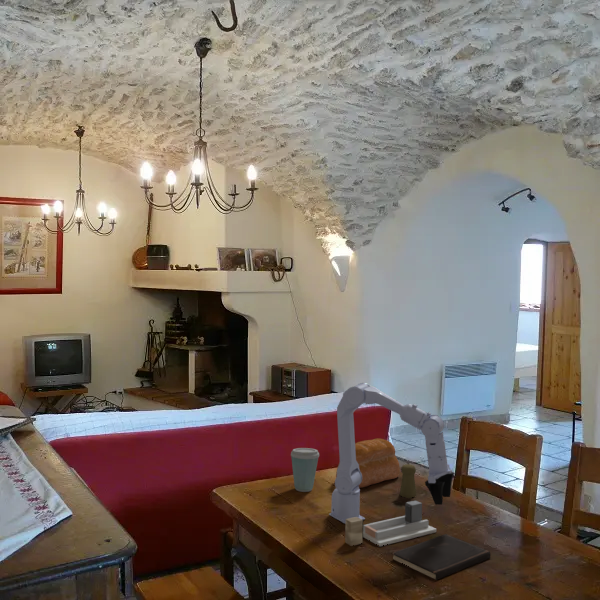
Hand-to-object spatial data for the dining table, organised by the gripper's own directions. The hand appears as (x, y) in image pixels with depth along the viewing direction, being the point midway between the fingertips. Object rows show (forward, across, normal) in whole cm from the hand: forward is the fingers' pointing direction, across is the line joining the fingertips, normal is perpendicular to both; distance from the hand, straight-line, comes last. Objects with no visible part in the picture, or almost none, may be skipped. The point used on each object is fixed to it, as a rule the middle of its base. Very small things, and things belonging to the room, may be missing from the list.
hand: (442, 500), depth 201 cm
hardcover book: (+12, -17, -4) cm, 21 cm away
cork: (+8, +29, +24) cm, 38 cm away
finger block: (+7, -20, +22) cm, 30 cm away
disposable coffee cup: (+2, +15, +58) cm, 60 cm away
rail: (+8, -6, +14) cm, 17 cm away
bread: (+5, +38, +43) cm, 58 cm away
